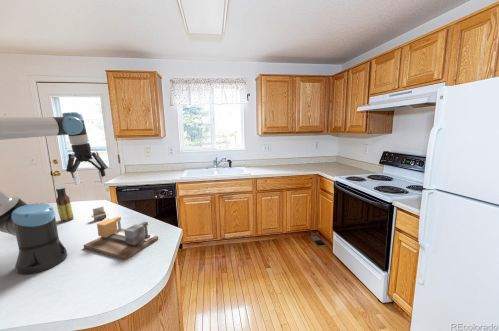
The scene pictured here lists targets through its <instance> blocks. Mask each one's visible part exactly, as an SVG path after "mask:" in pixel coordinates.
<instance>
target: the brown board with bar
mask: <svg viewBox="0 0 499 331" xmlns="http://www.w3.org/2000/svg"><path fill="white" fill-rule="evenodd" d="M148 226H149V222H148V221H143V222H141V223H139V224H137V223H136V224H133V225H131V226H130V227H127V228H122V227H121V230H118V228H117V230H118V232H116V233H114V234H112V235H110V236H108V237H106V238H105V237H101V236H99V237H98V238H96V239H94V240H91V241H90V242H87V243H85V244H83V248H84V249H86V250H88V251H93V252H96V253H100V254H103V255H107V256H111V257H114V258H117V259H119V260H125V261H126V260H128V259H129V258H131V257H132V256H133V255H135V254H137V253H139V252H140V251H142V250H144V249H145V248H146V247H149V245H152V244H153V243H154V242H157V241H158V240H159V236H157V234H153V233H149V232H148Z"/></svg>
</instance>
